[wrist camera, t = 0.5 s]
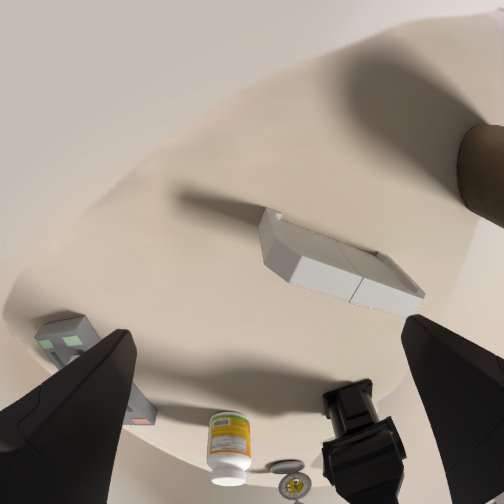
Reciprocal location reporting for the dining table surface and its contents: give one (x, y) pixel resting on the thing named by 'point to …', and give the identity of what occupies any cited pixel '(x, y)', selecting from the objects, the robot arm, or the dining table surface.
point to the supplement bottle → (228, 448)
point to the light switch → (336, 267)
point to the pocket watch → (292, 471)
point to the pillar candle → (483, 172)
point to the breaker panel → (76, 343)
